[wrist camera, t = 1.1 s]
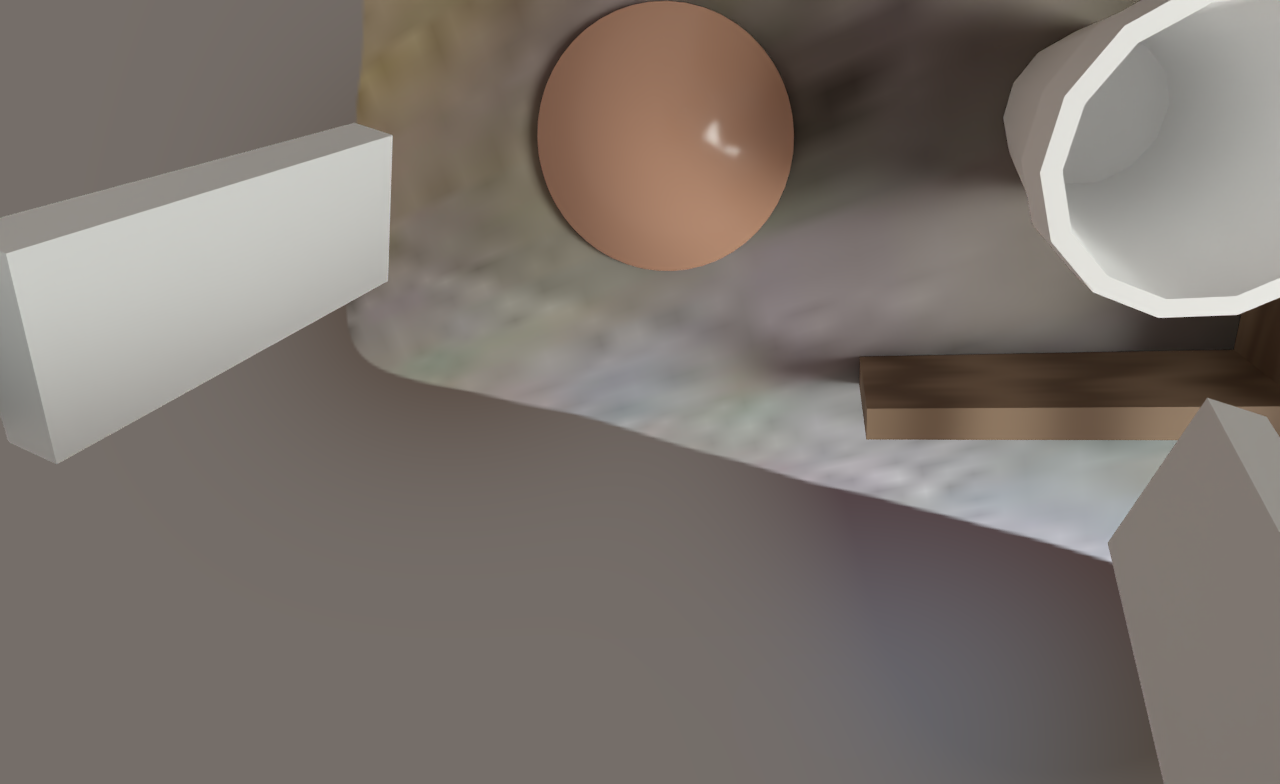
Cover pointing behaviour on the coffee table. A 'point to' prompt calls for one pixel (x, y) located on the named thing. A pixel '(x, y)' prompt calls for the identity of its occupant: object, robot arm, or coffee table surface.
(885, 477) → the coffee table surface
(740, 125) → the terracotta pad
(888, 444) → the coffee table surface
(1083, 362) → the wooden tray
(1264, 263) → the foam cup
